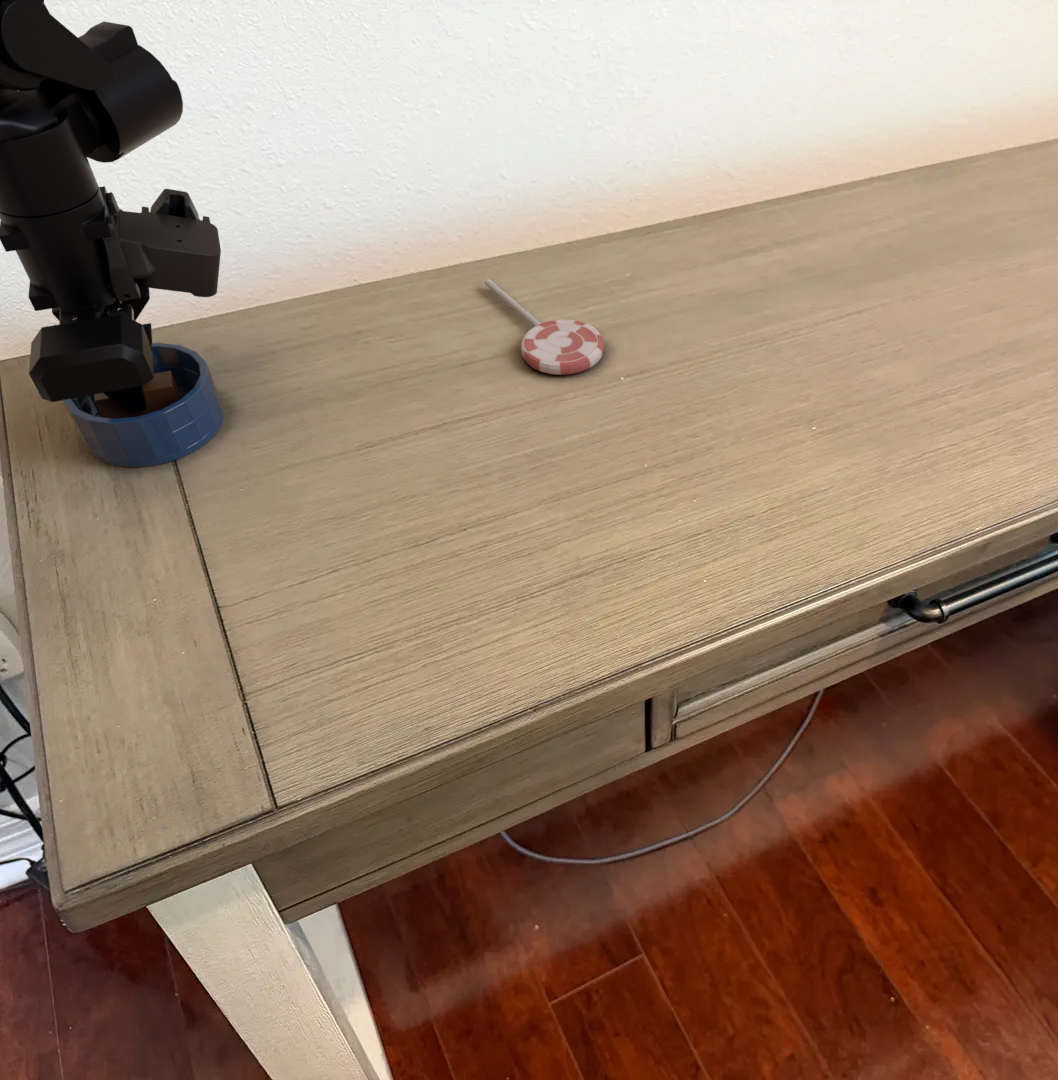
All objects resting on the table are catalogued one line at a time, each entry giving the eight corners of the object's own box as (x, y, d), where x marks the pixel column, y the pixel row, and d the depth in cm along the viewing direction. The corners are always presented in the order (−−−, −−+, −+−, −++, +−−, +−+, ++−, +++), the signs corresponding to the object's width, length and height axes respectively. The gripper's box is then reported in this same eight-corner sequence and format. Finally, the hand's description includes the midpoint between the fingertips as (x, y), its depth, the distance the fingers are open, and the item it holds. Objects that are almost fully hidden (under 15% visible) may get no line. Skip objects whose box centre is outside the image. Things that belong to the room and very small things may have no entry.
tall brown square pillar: (183, 413, 75) (172, 386, 73) (106, 428, 73) (93, 400, 71) (181, 397, 76) (171, 370, 74) (106, 411, 74) (93, 384, 73)
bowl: (85, 480, 71) (61, 435, 68) (86, 401, 77) (64, 356, 74) (228, 451, 74) (211, 406, 71) (218, 376, 79) (202, 332, 77)
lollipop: (520, 265, 90) (620, 346, 82) (521, 275, 91) (620, 357, 83) (452, 288, 87) (549, 375, 79) (454, 299, 88) (550, 386, 80)
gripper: (199, 248, 59) (271, 457, 70) (182, 116, 71) (246, 312, 82) (-24, 281, 56) (89, 495, 67) (-2, 137, 68) (91, 338, 79)
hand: (138, 401), depth 74 cm, fingers closed on tall brown square pillar, 2 cm apart
